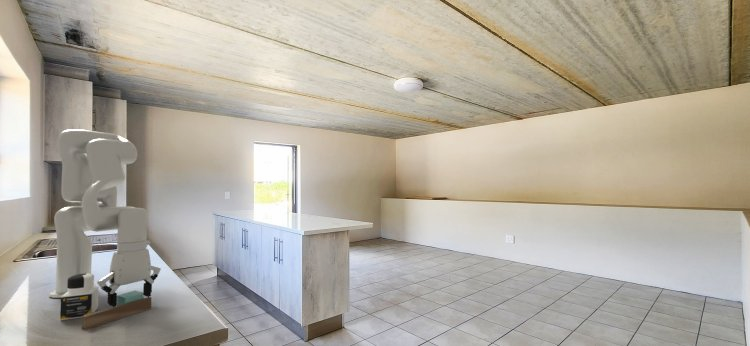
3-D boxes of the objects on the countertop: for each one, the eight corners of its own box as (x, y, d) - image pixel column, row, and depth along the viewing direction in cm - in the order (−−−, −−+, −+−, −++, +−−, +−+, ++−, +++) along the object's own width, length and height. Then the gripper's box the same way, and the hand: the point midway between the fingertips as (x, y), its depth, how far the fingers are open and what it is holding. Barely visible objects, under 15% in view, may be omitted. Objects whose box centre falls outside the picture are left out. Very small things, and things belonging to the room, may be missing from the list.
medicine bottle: (59, 321, 94) (61, 279, 94) (68, 312, 100) (70, 273, 101) (91, 316, 97) (92, 276, 98) (98, 308, 103) (99, 270, 104)
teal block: (116, 311, 101) (117, 295, 101) (134, 305, 106) (134, 290, 106) (125, 314, 99) (125, 297, 99) (143, 308, 103) (143, 292, 104)
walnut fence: (81, 328, 89) (81, 315, 89) (147, 307, 104) (148, 296, 104) (84, 329, 88) (84, 317, 88) (151, 308, 103) (151, 297, 103)
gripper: (154, 241, 112) (152, 290, 112) (93, 250, 97) (91, 307, 97) (166, 243, 109) (165, 294, 108) (105, 253, 94) (103, 312, 93)
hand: (130, 300), depth 103 cm, fingers open, 9 cm apart
